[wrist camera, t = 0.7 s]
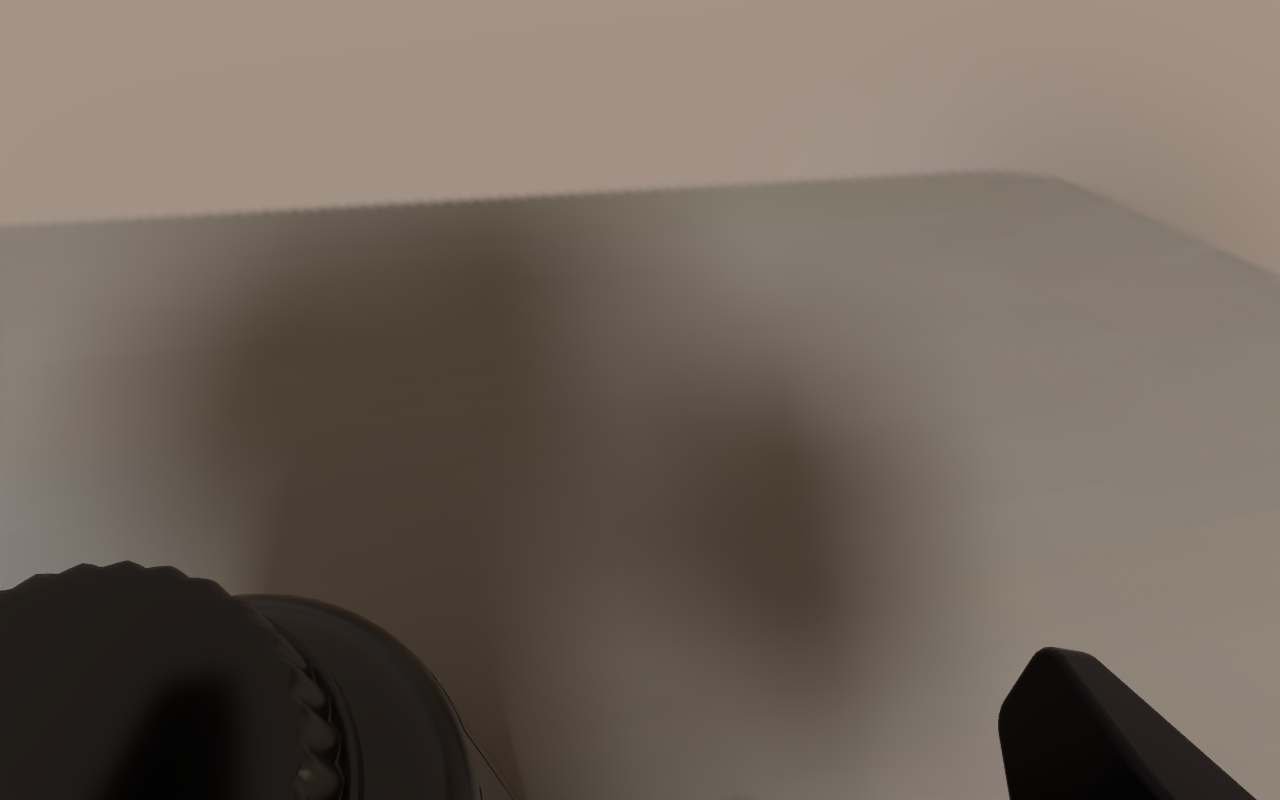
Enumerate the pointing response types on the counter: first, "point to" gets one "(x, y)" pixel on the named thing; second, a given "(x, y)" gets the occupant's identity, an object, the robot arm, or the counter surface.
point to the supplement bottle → (217, 697)
